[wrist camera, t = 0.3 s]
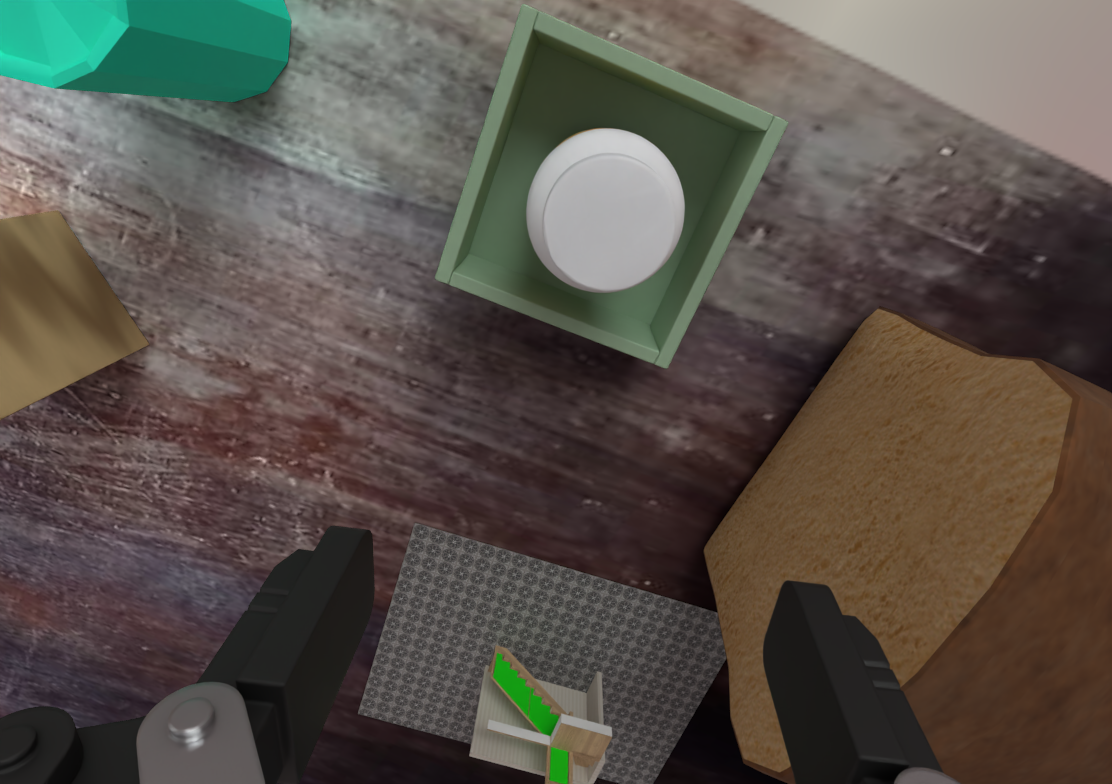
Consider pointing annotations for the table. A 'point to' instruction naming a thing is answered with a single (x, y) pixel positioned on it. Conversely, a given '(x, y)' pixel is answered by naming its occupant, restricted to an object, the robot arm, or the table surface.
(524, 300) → the basket
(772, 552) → the bread
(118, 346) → the riser
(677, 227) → the supplement bottle
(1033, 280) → the table surface
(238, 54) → the candle
